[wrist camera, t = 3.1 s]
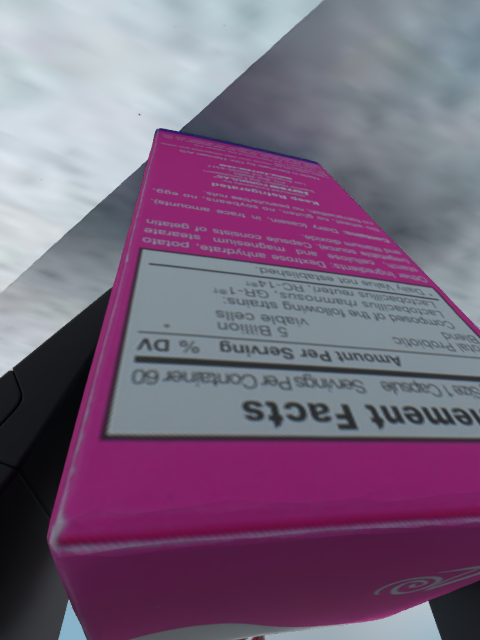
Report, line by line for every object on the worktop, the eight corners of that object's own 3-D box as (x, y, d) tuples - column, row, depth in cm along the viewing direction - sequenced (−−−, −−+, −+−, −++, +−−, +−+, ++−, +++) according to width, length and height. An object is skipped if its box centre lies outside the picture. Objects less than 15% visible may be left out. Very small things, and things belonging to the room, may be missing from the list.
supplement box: (278, 292, 15) (385, 630, 7) (145, 275, 14) (68, 667, 5) (327, 159, 12) (692, 531, 3) (153, 119, 10) (-44, 575, 2)
